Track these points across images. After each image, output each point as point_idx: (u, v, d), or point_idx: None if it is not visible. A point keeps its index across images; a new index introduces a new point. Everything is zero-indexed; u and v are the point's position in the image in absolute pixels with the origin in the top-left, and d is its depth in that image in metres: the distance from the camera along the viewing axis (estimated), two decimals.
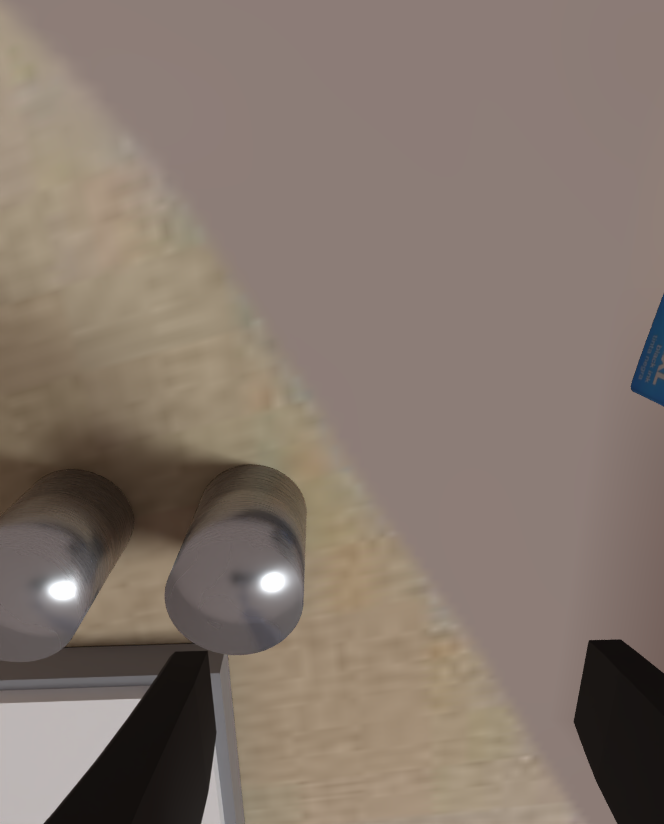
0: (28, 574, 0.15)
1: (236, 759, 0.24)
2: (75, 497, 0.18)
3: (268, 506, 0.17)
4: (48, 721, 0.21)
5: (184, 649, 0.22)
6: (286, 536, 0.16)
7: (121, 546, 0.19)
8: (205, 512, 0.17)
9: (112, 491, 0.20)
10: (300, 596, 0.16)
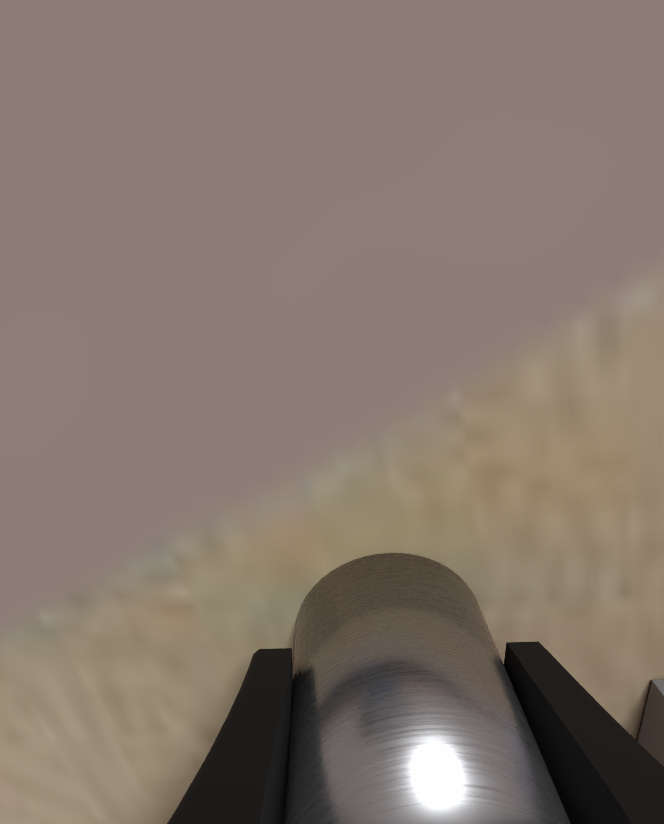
0: None
1: None
2: None
3: (300, 713, 0.09)
4: None
5: (646, 746, 0.12)
6: (330, 742, 0.08)
7: None
8: None
9: None
10: (439, 811, 0.06)
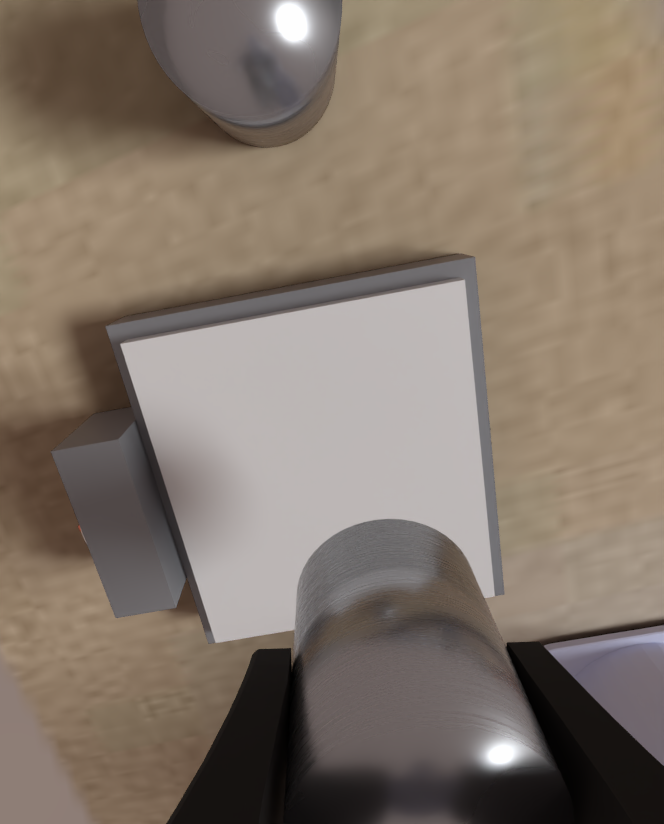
0: None
1: None
2: None
3: (301, 660, 0.09)
4: (262, 351, 0.16)
5: (410, 264, 0.17)
6: (331, 679, 0.08)
7: None
8: None
9: None
10: (432, 733, 0.07)
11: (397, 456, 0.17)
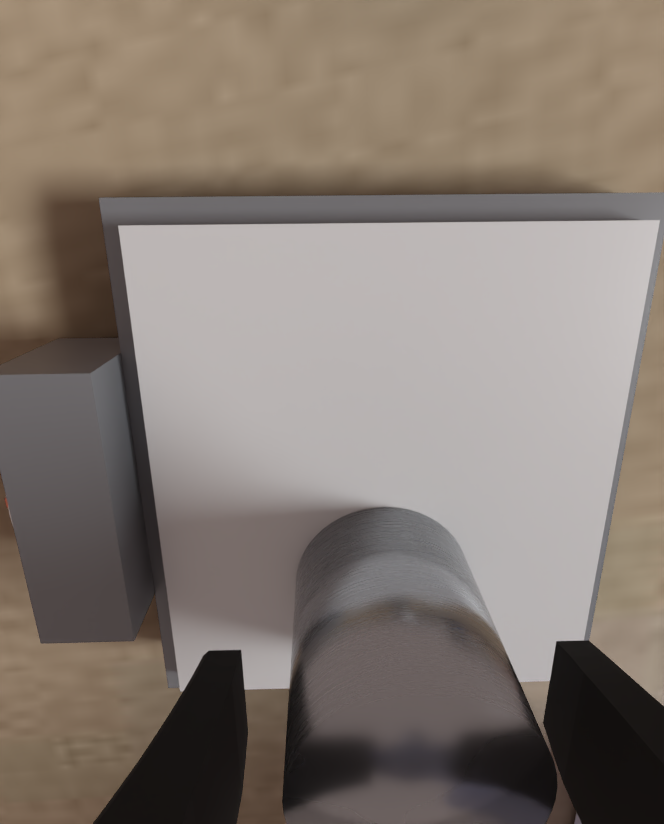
0: None
1: None
2: None
3: (302, 637, 0.10)
4: (336, 277, 0.10)
5: None
6: (330, 653, 0.09)
7: None
8: None
9: None
10: (425, 700, 0.07)
11: (495, 468, 0.12)
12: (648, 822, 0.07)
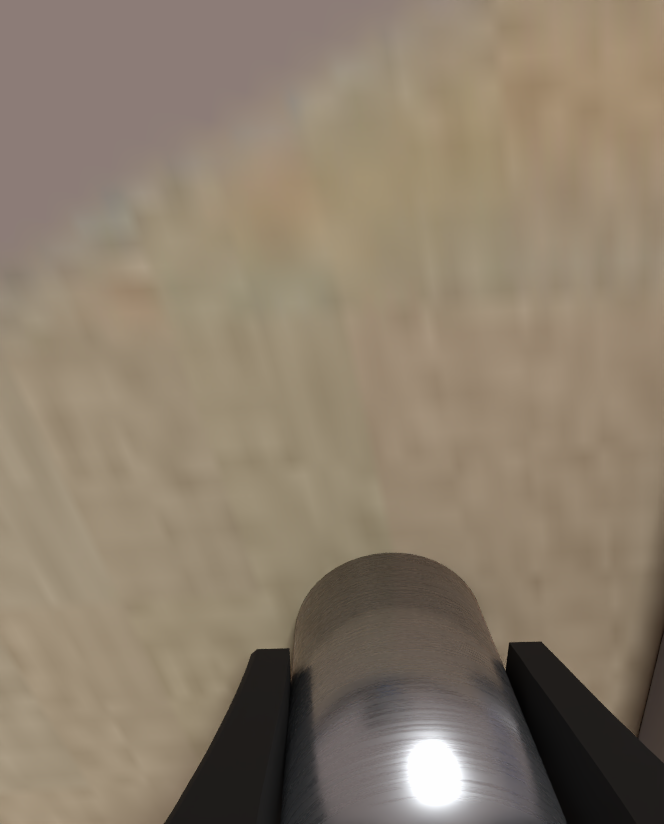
0: None
1: None
2: (305, 657, 0.10)
3: None
4: None
5: None
6: None
7: (432, 599, 0.10)
8: None
9: (335, 580, 0.11)
10: None
11: None
12: None
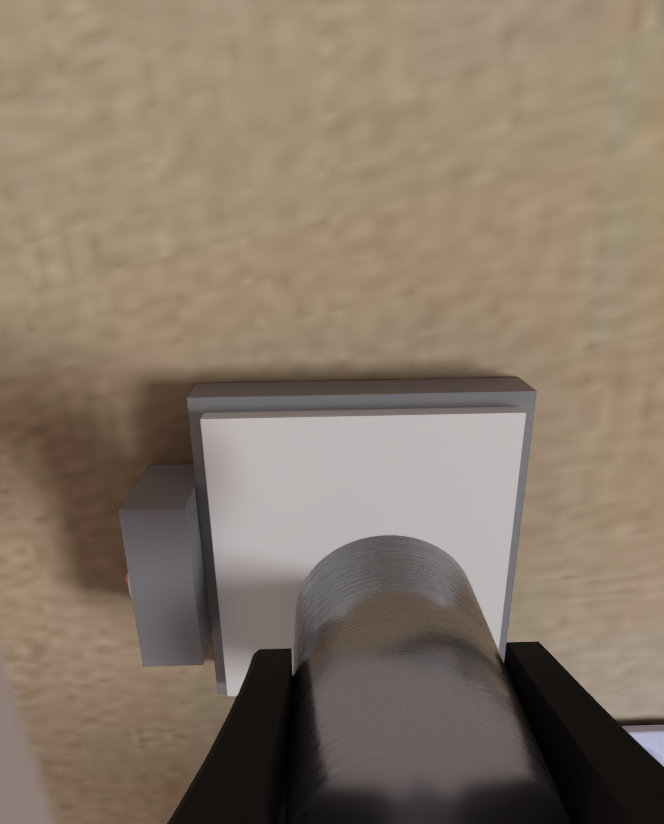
0: (353, 818, 0.07)
1: None
2: (306, 634, 0.10)
3: None
4: (330, 446, 0.17)
5: (473, 380, 0.18)
6: None
7: (426, 577, 0.10)
8: None
9: (334, 561, 0.11)
10: None
11: None
12: None
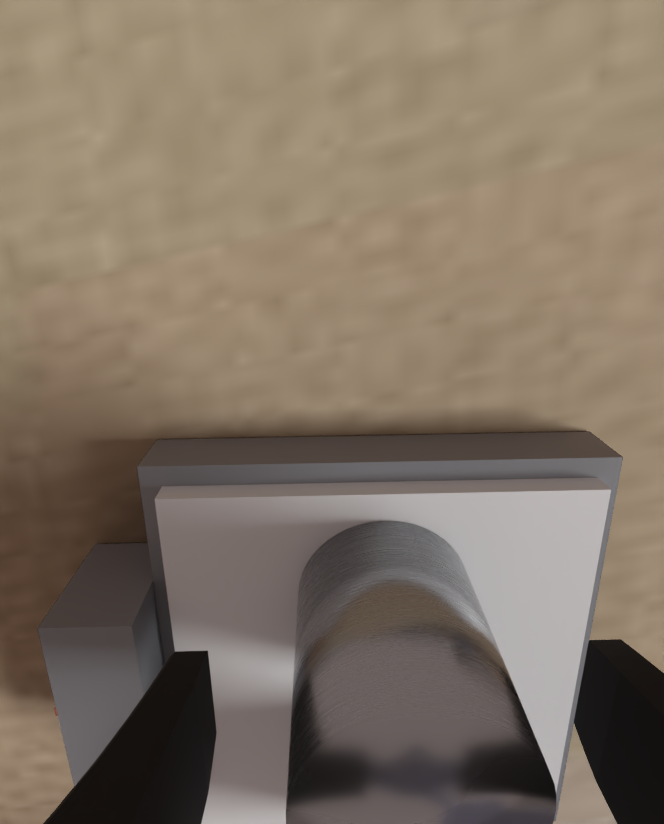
0: (351, 776, 0.08)
1: None
2: (308, 612, 0.11)
3: None
4: None
5: (530, 437, 0.14)
6: None
7: (422, 559, 0.11)
8: None
9: (335, 545, 0.12)
10: None
11: None
12: None
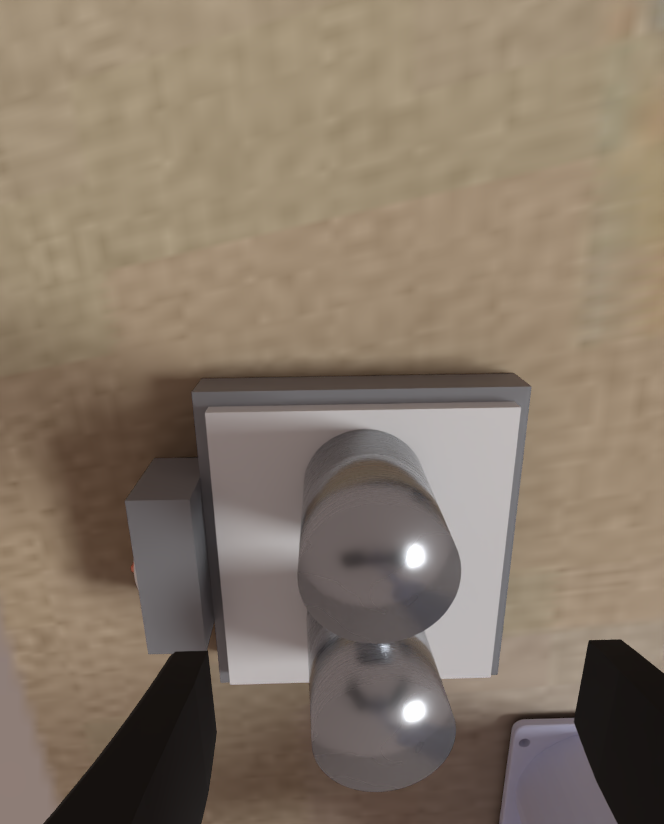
0: (335, 547, 0.13)
1: None
2: (310, 483, 0.16)
3: (310, 668, 0.17)
4: None
5: (470, 376, 0.19)
6: (321, 675, 0.16)
7: (386, 446, 0.16)
8: None
9: (328, 445, 0.17)
10: (364, 688, 0.14)
11: None
12: None
